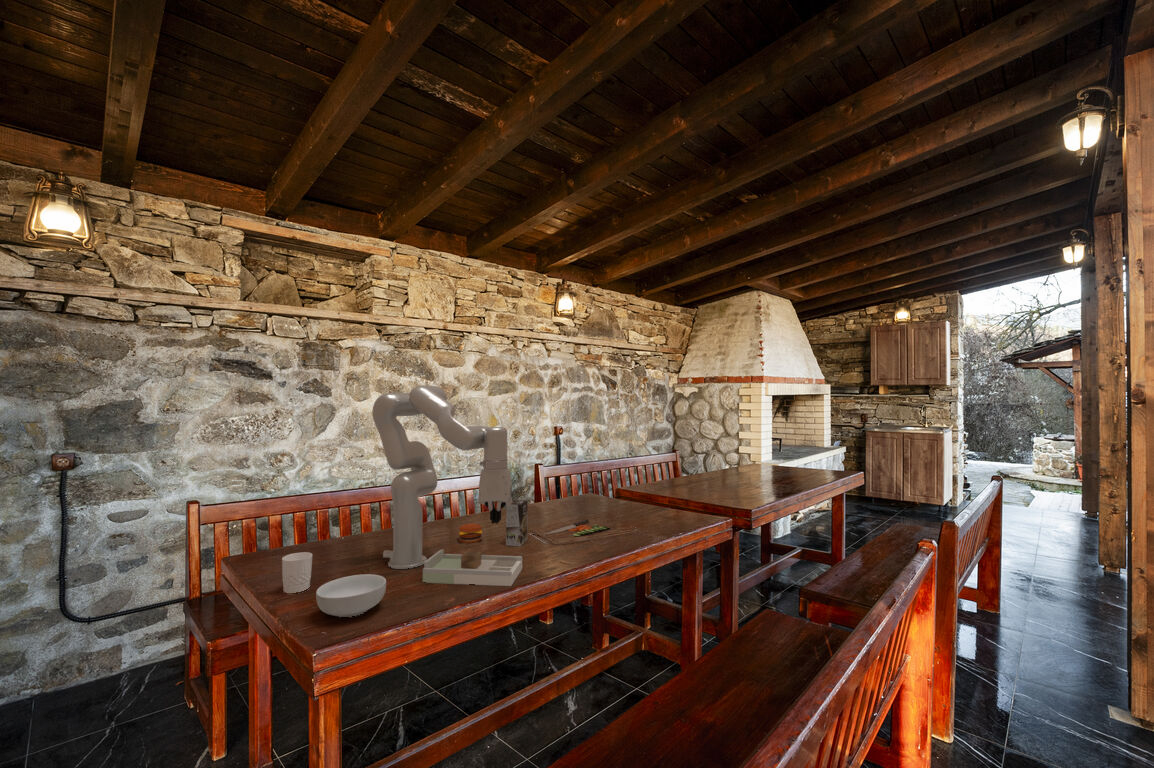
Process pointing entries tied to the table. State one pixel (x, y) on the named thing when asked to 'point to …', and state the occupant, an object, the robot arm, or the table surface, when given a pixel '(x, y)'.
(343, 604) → the cereal bowl
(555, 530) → the chopping board
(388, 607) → the table surface
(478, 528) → the hamburger
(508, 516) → the coffee box
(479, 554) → the walnut block
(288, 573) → the white cup
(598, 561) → the table surface
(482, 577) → the tray
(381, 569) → the table surface
